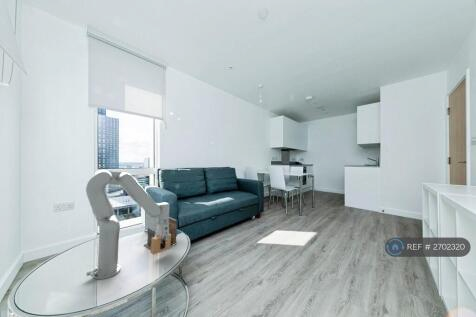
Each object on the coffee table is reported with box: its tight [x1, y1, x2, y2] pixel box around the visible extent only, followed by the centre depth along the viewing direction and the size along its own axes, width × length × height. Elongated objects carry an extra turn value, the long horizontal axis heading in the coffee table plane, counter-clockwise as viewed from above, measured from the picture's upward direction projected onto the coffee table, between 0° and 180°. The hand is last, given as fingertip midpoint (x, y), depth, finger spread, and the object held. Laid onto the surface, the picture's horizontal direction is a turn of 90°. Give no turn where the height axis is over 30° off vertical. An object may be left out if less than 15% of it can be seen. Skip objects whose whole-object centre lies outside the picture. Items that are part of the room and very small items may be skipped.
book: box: [150, 234, 171, 255], centre depth 123 cm, size 12×4×10 cm, turn 142°
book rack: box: [143, 216, 178, 251], centre depth 139 cm, size 18×16×19 cm
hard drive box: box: [144, 211, 157, 231], centre depth 166 cm, size 16×8×20 cm, turn 84°
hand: (160, 247), depth 123 cm, fingers closed on book, 4 cm apart
